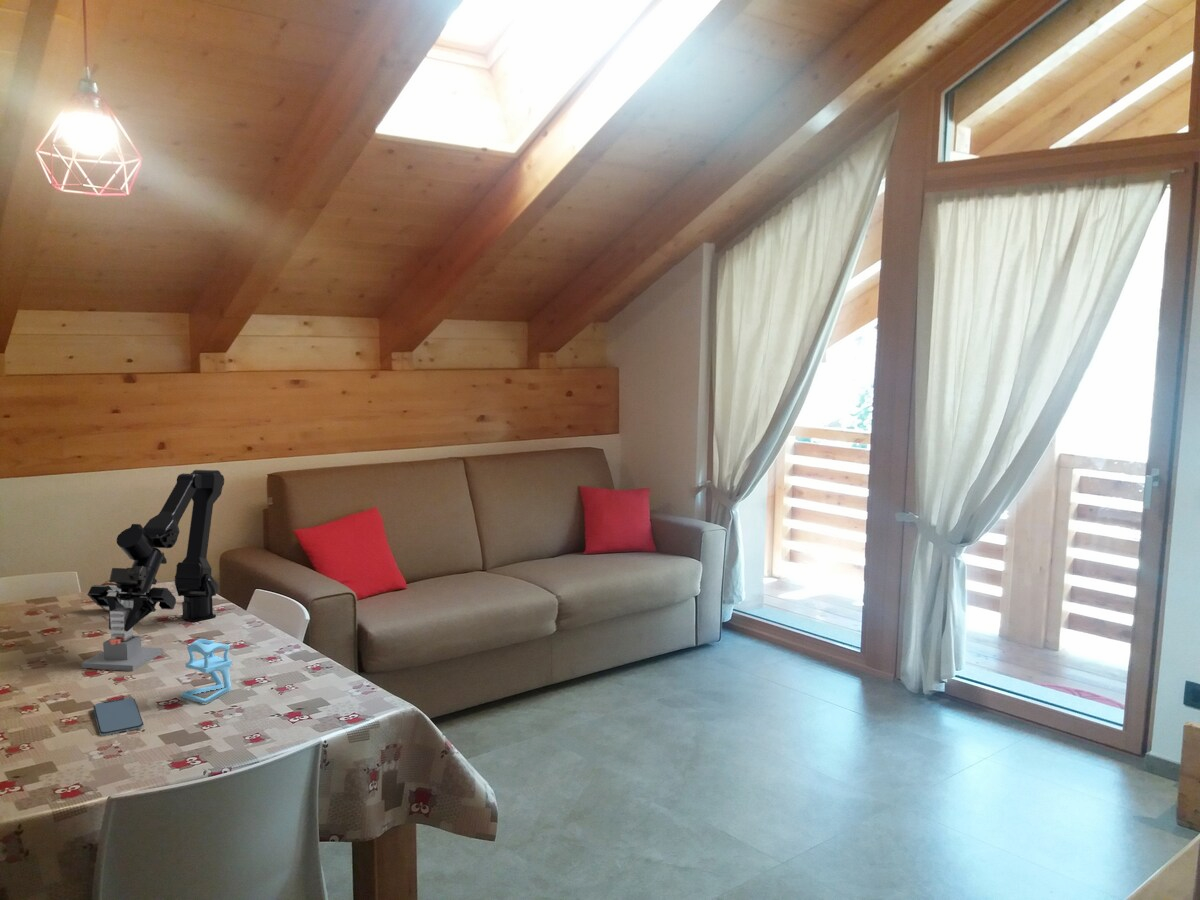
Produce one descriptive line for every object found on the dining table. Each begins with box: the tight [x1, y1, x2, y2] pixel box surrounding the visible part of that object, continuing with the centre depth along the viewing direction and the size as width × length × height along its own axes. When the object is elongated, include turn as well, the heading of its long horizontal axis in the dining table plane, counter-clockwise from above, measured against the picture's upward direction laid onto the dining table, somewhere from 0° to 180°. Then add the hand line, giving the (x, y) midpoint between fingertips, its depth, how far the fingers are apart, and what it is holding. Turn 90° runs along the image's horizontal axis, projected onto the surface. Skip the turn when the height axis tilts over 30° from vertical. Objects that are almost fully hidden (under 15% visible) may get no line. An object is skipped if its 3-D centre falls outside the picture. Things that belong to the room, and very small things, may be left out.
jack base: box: [81, 635, 164, 672], centre depth 214 cm, size 12×12×6 cm
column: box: [110, 607, 134, 642], centre depth 213 cm, size 4×3×10 cm
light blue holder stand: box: [181, 638, 233, 704], centre depth 194 cm, size 8×8×12 cm
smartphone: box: [92, 697, 145, 737], centre depth 182 cm, size 8×2×15 cm
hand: (118, 630), depth 212 cm, fingers closed on column, 3 cm apart
